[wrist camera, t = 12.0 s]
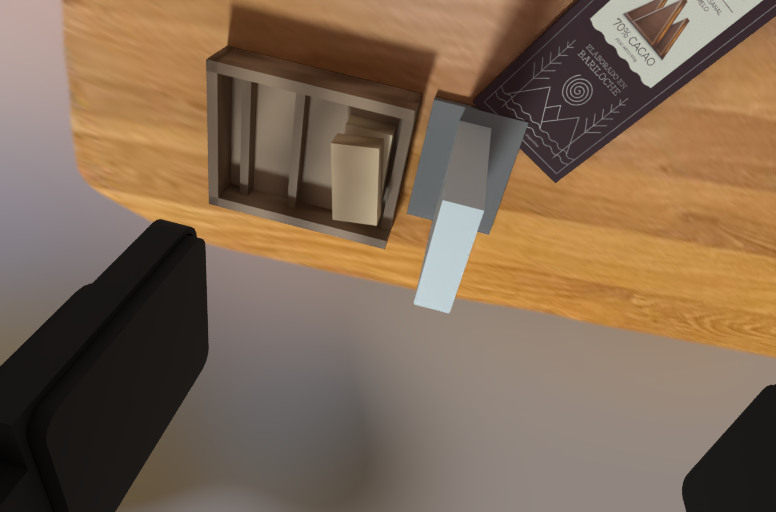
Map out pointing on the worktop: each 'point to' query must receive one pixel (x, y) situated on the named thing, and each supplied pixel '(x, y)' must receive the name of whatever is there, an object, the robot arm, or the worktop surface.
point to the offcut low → (376, 130)
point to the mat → (439, 148)
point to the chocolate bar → (612, 70)
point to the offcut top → (357, 178)
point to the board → (455, 218)
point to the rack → (295, 139)
